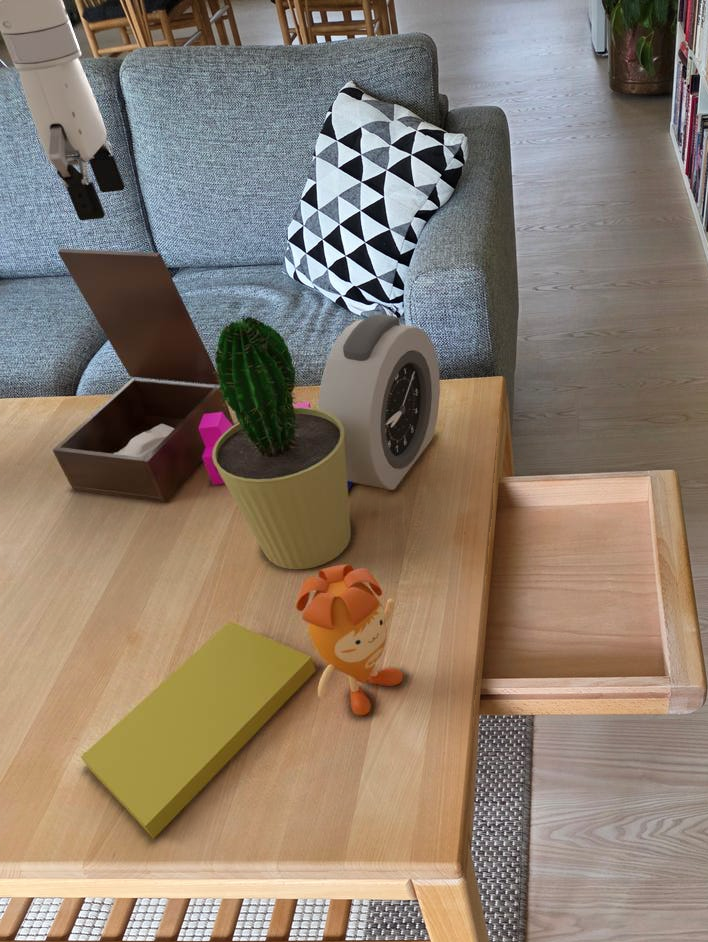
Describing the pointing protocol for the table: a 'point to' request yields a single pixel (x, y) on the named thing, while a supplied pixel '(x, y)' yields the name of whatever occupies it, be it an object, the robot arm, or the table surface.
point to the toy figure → (348, 628)
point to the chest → (129, 416)
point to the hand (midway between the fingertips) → (103, 204)
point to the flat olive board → (195, 723)
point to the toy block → (211, 432)
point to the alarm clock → (382, 397)
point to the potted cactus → (279, 451)
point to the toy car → (146, 441)
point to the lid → (141, 314)
